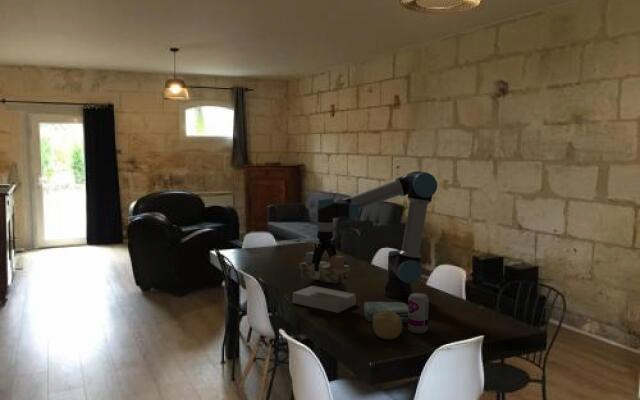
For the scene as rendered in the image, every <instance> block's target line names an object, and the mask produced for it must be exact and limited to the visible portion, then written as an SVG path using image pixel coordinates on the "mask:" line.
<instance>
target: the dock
mask: <svg viewBox="0 0 640 400" xmlns="http://www.w3.org/2000/svg"><path fill="white" fill-rule="evenodd" d="M356 296H357V294H356V293H354V292H352V293H351V292H347V291H341V290H337V289H331V288H326V287H322V286H321V287H320V286H316V285H310V286H308V287H306V288H302V289H299V290H297V291H293V292H292V303H293V304H297V305H301V306H304V307H305V306H306V307H309V308H315V309H320V310H323V311H327V312H332V313H336V314H337V313H338V314H339V313H341V312H344V311H345V310H347V309H349V308H352V307H354V306H355V305H356V302H357V297H356Z"/></svg>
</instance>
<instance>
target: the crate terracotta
mask: <svg viewBox="0 0 640 400" xmlns="http://www.w3.org/2000/svg"><path fill="white" fill-rule="evenodd" d="M329 260H330V267H335V268H341V267H344V265H345V255H338V254H337V255H335V256H331V257H330V258H329Z"/></svg>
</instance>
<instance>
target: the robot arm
mask: <svg viewBox="0 0 640 400" xmlns="http://www.w3.org/2000/svg"><path fill="white" fill-rule="evenodd" d="M437 189H438V181H437V179H436V177H435V176H434V175H432V174H431V173H429V172H426V171H416V170H415V171H411V172H409V173H407V174H404V175H402V176H399V177H397V178H395V180H394V181H392V182H389V183H386V184H382V185H380V186H377V187H374V188H371V189H368V190H365V191H362V192H360V193H357V194H354V195H352V196H349V197H345V198H343V199H340V198H339V199H337V200H334V198H330V197H321V198H318V201H317V234H316V235H317V236H316V237H317V239H318V242H315V243H314V251H313V252H314V254H313V259H312V264H315V278H320V275H321V265H320V261H322V259H323V255H324V253H325V252H326V253H327V255H328V258H329V259H328V262H330V257H331V256H335V255H338V254H337V249H336V248H337V247H336V242H335V239H333V238H334V231H333V230H334V219H357V218H358V217H359V212H360V209H364V208H367V207H369V206H372V205H375V204H379V203H381V202H384V201H387V200H389V199H392V198H396V197H398V196H401V197H404V196H407V199H408V201H409V205H408V209H407V210H408V211H407V217H406V223H405V229H404V233H403V240H402V245H401V249H400V250H390V251H389V252H388V254H387V255H388V256H387V280H386V282H385V286H384V288H383V294H384V295H385V296H387V297H389V298H394V299H409V296H410V294H412V293H414V288H413V284H412V283H415V282H417V281H418V280H420V278H421V276H422V274H423V268H422V265H421V264H422V263H421V262H422V258H423V257H422V255H421V253H420V250H421V244H422V239H423V233H424V228H425V227H424V226H425V222H426V221H425V220H426V216H427V211H428V210H427V209H428V205H429V204H430V203H432V201H433V200H432V199H433V195H435V193H436V192H437ZM334 201H335V202H334Z"/></svg>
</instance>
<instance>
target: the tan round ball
mask: <svg viewBox="0 0 640 400" xmlns="http://www.w3.org/2000/svg"><path fill="white" fill-rule="evenodd" d="M372 328H373V330H374V333H375V335H376V336H377V337H378V338H380V339H381V340H394V339H396V338H398V337H399V336H400V335H401V333H402V331H403V322H402V321H401V318H400V317H399V315H398V314H396V313H395V312H392V311H388V310H387V311H383V310H381V311H380V312H378V313H376V314H374V315H373V321H372Z"/></svg>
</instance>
